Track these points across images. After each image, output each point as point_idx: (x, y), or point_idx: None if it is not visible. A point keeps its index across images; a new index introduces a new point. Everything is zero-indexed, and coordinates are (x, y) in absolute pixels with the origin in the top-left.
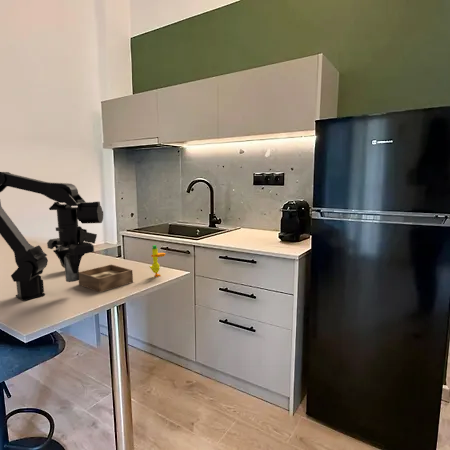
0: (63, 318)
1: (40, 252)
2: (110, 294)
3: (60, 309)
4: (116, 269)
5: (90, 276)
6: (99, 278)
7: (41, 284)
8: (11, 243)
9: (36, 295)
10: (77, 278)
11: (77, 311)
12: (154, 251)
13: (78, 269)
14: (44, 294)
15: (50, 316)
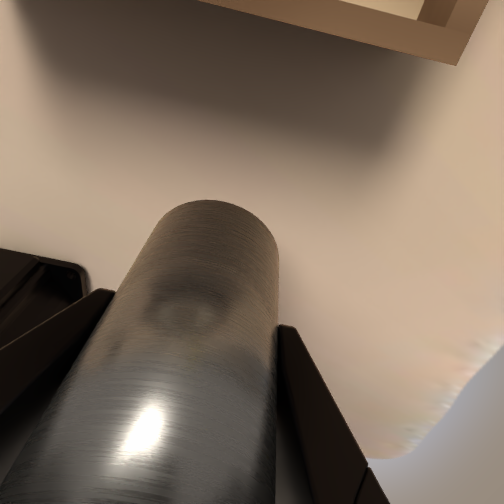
0: (440, 392)
1: None
2: None
3: (352, 348)
4: None
5: (236, 9)
6: (455, 35)
7: (11, 307)
8: None
9: (74, 302)
10: (277, 266)
11: (458, 341)
12: None
13: (263, 313)
14: (80, 270)
15: (369, 393)
